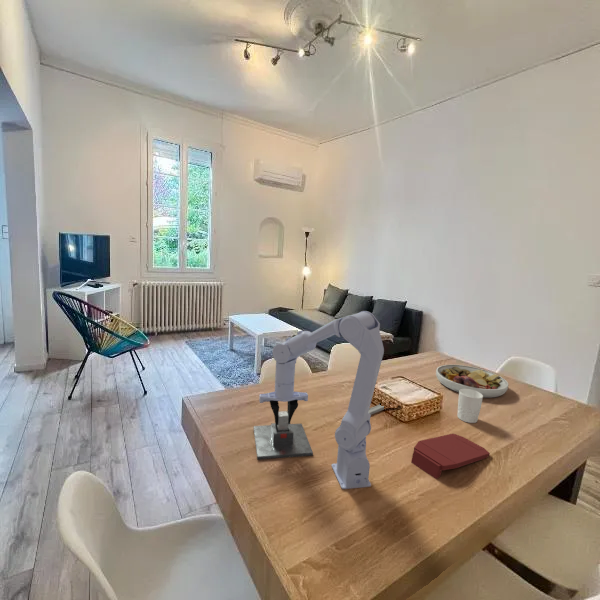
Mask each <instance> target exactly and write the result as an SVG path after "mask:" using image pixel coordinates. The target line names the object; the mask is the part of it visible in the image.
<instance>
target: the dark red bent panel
mask: <svg viewBox="0 0 600 600" xmlns="http://www.w3.org/2000/svg"><path fill="white" fill-rule="evenodd" d="M490 453H491V452H489V451H488V450H487V449H485V447H483V446H481V445H479V444H477V443H475V442H473V441H472V440H470V439H468V438H466V437H464V436H462V435H459V434H455V433H449V434H445V435H440V436H435V437H432V438H427V439H422V440H419V441H417V443H416V444H415V445H414V447H413V453H412V456H411V461H410V462H411V464H413V465H415V466H416V467H417V468H419V469H420V470H422V471H423V472H425V473H426V474H427V475H429V476H431V477H432V478H433V479H435V480H437V479H439V478H441V476H442V471H446V470H447V471H448V470H452V469H458V468H460V467H463V466H467V465H469V464H472V463H475V462H479V461H481V460H485V459H487V458H489V457H490Z"/></svg>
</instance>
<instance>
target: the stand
mask: <svg viewBox="0 0 600 600" xmlns="http://www.w3.org/2000/svg"><path fill="white" fill-rule="evenodd" d="M276 428H277V425H276V424H275V422H272V423H271V424H268V425H254V426H253V435H254V443H255V450H256V451H255V452H256V459H257V461H261V460H271V459H272V460H275V459H285V458H298V457H299V458H300V457H312V456H314V452H313V449H312V446H311V444H310V441H309V439H308V437H307V434H306V432H305V428H304V427H303V424H302V423H290V424H288V431H282V432H277V431H276Z"/></svg>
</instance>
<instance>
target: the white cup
mask: <svg viewBox="0 0 600 600" xmlns="http://www.w3.org/2000/svg"><path fill="white" fill-rule="evenodd" d="M483 398H484V397H483V395H482V394H481V393H479V392H477V391H474V390H470V389H461V390H459V392H458V399H457V418H458V419H459V420H461V421H463V422H465V423H468V424H475V423H477V422H478V421H479V420H478V419H479V416H480V411H481V409H482V404H483Z"/></svg>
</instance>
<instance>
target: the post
mask: <svg viewBox="0 0 600 600" xmlns="http://www.w3.org/2000/svg"><path fill="white" fill-rule="evenodd" d="M288 418H289V416H288V413H287V410H284V411H283V410H282V411H280V410H279V413H278V425H277V428H276V431H277V432H282V431H288Z"/></svg>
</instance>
